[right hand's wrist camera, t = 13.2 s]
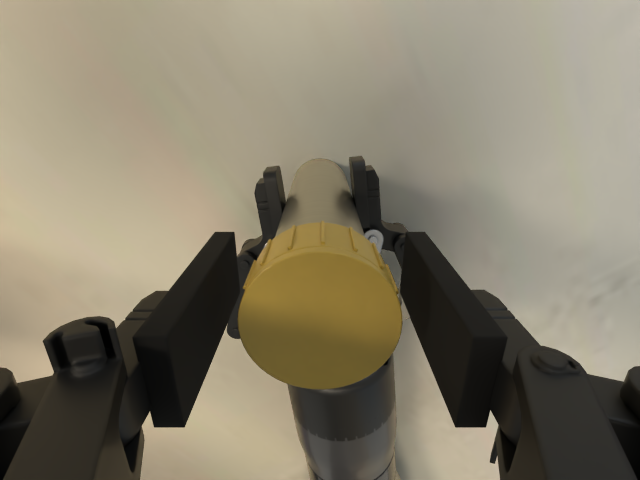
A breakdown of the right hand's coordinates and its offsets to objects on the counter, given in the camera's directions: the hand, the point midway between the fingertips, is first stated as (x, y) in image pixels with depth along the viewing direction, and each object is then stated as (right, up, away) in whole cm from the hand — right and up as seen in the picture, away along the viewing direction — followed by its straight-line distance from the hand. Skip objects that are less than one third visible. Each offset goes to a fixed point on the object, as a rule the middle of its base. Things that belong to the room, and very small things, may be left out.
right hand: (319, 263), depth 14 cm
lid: (0, -1, -4) cm, 4 cm away
